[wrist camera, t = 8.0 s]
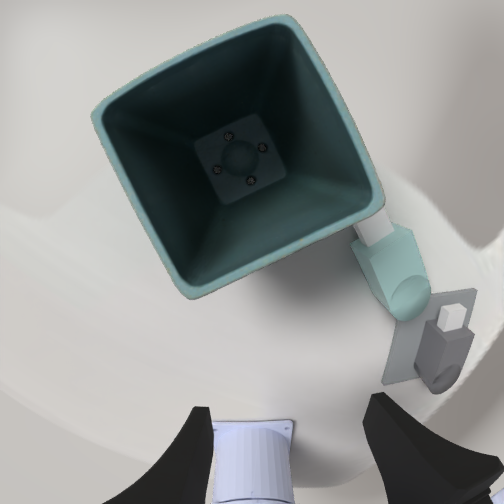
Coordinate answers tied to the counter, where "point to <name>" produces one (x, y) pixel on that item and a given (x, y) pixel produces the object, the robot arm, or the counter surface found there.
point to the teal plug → (392, 265)
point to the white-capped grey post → (443, 348)
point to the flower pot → (238, 154)
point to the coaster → (420, 334)
